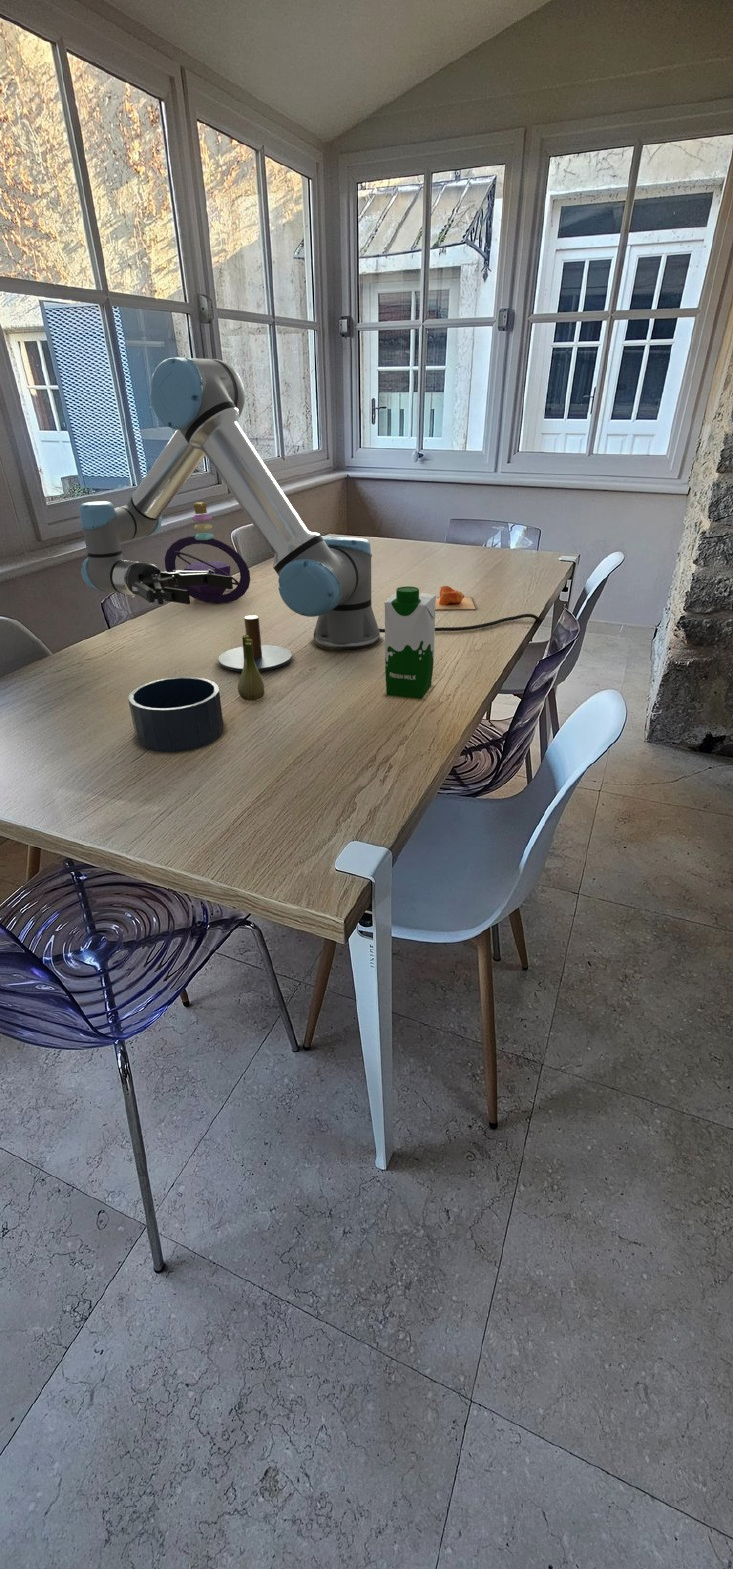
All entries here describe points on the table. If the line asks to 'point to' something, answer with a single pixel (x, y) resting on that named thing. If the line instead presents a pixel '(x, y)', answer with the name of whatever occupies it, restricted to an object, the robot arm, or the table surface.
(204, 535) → the decorative bottle
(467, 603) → the rock
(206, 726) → the pot
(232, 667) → the pot lid
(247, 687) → the fennel bulb
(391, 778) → the table surface
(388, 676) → the milk carton
